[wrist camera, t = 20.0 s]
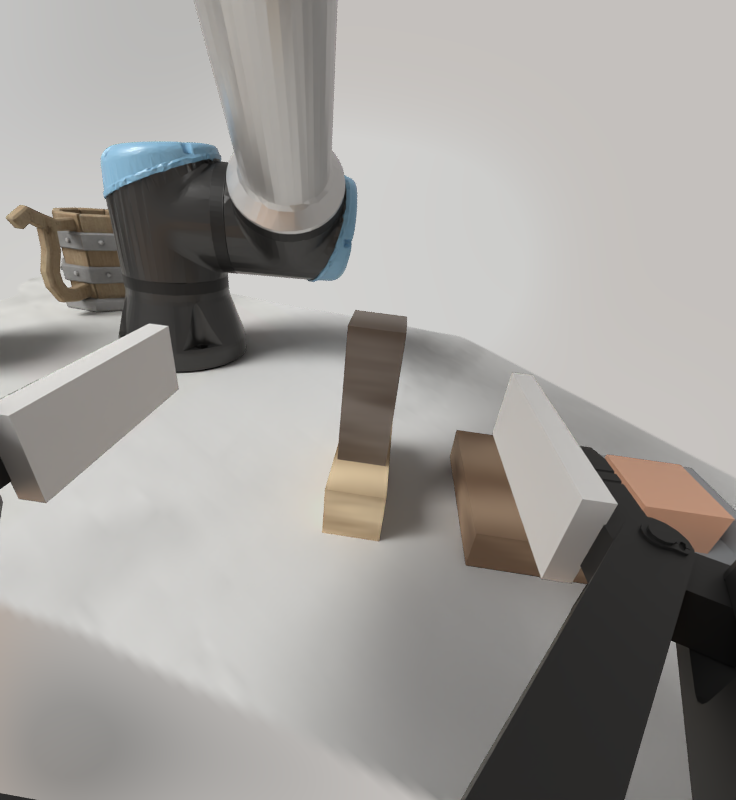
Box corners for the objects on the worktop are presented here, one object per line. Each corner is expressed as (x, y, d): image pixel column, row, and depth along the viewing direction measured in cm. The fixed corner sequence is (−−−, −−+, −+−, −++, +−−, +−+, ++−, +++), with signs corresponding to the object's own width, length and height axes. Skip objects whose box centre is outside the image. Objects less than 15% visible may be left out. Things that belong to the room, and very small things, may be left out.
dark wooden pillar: (344, 448, 35) (357, 298, 29) (387, 455, 35) (410, 305, 28) (322, 532, 26) (334, 343, 20) (379, 541, 26) (410, 353, 20)
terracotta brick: (590, 486, 33) (606, 454, 31) (660, 496, 33) (680, 464, 31) (624, 541, 28) (645, 506, 26) (707, 553, 28) (734, 519, 26)
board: (449, 456, 36) (456, 430, 34) (556, 472, 35) (568, 445, 34) (465, 565, 25) (476, 533, 24) (618, 588, 25) (638, 558, 23)
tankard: (108, 288, 72) (88, 199, 65) (169, 297, 71) (156, 208, 63) (0, 316, 55) (-44, 199, 47) (78, 330, 53) (45, 211, 46)
